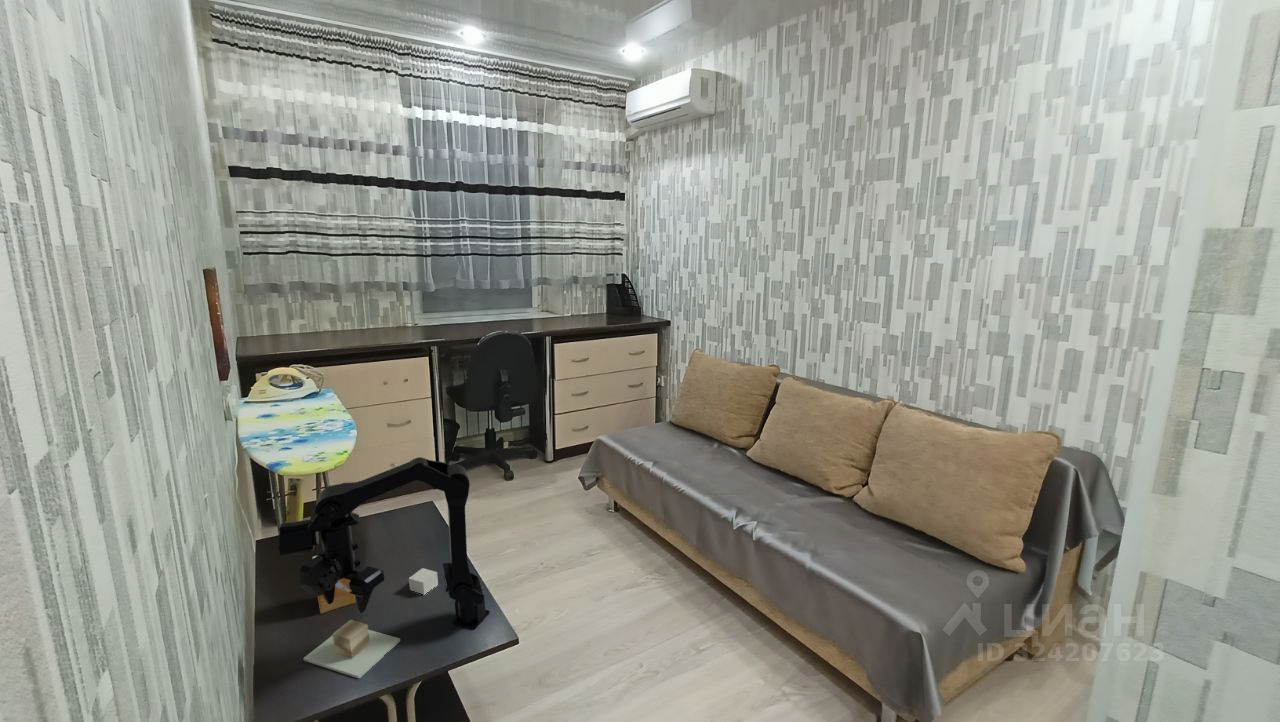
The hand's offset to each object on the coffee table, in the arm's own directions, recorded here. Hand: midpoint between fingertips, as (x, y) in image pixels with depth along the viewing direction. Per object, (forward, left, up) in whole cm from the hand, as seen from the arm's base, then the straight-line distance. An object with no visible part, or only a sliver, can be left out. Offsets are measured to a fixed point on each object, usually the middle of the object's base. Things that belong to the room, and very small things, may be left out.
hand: (346, 607), depth 124 cm
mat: (0, 0, -11) cm, 11 cm away
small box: (+18, -12, -12) cm, 24 cm away
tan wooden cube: (0, 0, -11) cm, 11 cm away
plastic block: (+1, -24, -11) cm, 27 cm away
